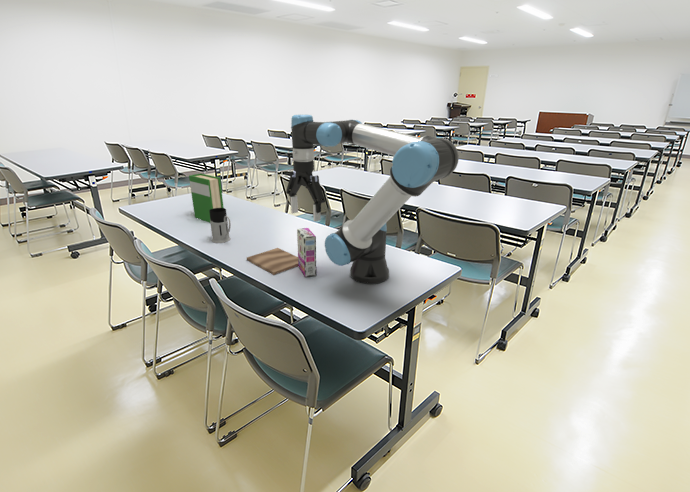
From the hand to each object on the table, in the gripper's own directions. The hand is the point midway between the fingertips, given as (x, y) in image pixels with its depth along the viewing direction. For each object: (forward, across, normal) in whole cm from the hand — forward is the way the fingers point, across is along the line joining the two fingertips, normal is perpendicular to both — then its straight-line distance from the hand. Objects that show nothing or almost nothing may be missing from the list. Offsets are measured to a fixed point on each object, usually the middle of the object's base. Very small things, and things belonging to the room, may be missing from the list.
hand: (305, 216), depth 147 cm
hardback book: (+23, -90, +2) cm, 93 cm away
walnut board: (+23, -16, -4) cm, 28 cm away
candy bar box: (+23, 0, 0) cm, 23 cm away
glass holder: (+23, -53, -8) cm, 58 cm away
